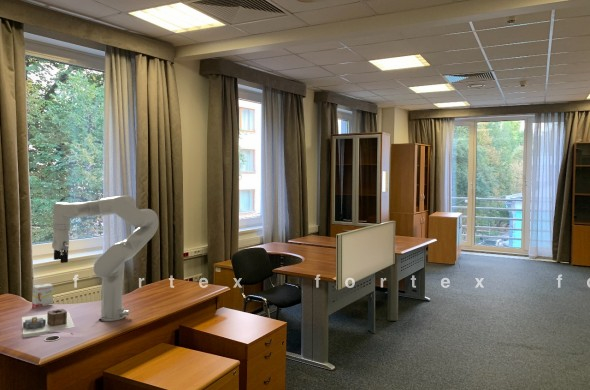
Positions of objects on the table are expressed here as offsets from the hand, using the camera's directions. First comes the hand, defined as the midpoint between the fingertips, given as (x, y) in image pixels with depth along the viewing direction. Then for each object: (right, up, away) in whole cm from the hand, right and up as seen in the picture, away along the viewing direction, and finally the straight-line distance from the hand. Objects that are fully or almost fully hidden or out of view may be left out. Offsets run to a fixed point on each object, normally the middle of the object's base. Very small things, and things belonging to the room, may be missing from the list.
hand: (60, 261), depth 217 cm
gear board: (+2, -28, -14) cm, 31 cm away
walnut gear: (+7, -27, -16) cm, 32 cm away
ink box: (-16, -27, +12) cm, 33 cm away
